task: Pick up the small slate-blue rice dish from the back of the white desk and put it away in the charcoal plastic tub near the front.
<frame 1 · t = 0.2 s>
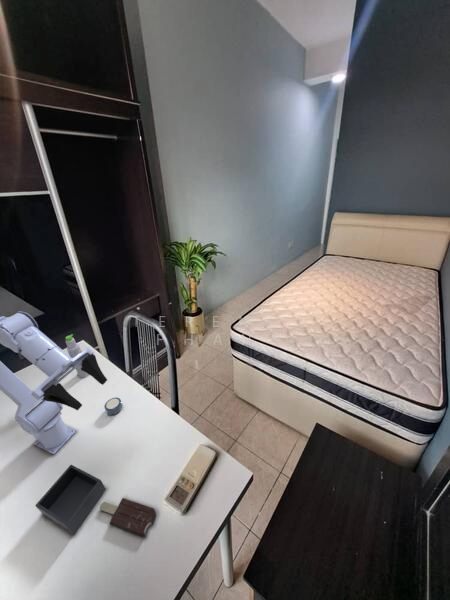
hand: (93, 394, 57), 31 cm above the table, tool tilted 45°, fingers open, 7 cm apart
bottle: (84, 374, 107), on the table
tub: (75, 501, 66), on the table
ice cream bar: (126, 515, 62), on the table
rice dish: (114, 409, 90), on the table
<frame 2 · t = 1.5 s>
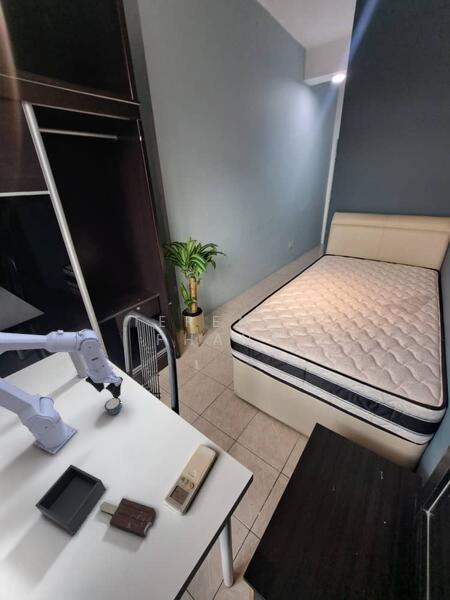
hand: (109, 393, 86), 9 cm above the table, tool pointing down, fingers open, 7 cm apart
nothing on the table moved.
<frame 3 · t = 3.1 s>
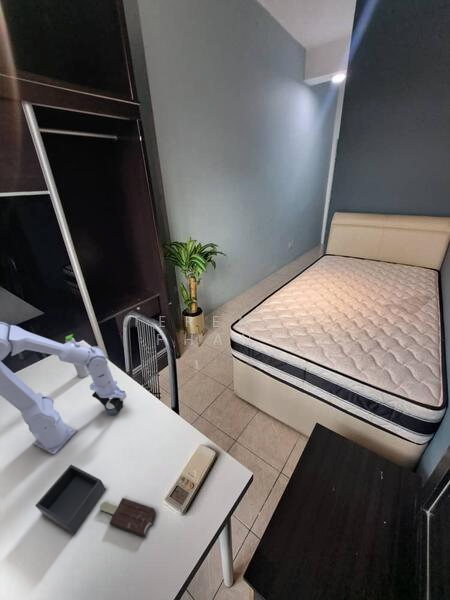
hand: (113, 406, 90), 1 cm above the table, tool pointing down, fingers closed on rice dish, 5 cm apart
rice dish: (114, 409, 90), on the table, touching gripper
everything else where it was.
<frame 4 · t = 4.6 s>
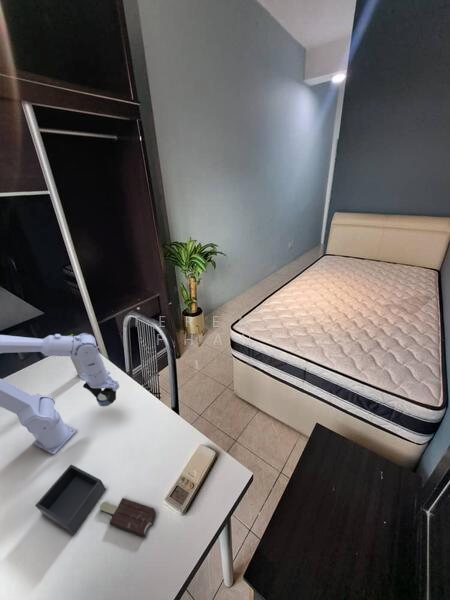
hand: (106, 398, 85), 8 cm above the table, tool pointing down, fingers closed on rice dish, 5 cm apart
rice dish: (107, 401, 85), point 7 cm above the table, touching gripper
everything else where it was.
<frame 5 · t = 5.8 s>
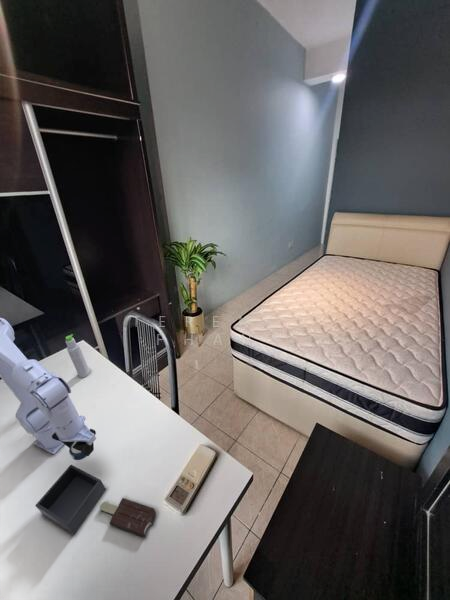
hand: (82, 448, 69), 8 cm above the table, tool pointing down, fingers closed on rice dish, 5 cm apart
rice dish: (83, 451, 70), point 7 cm above the table, touching gripper
everything else where it was.
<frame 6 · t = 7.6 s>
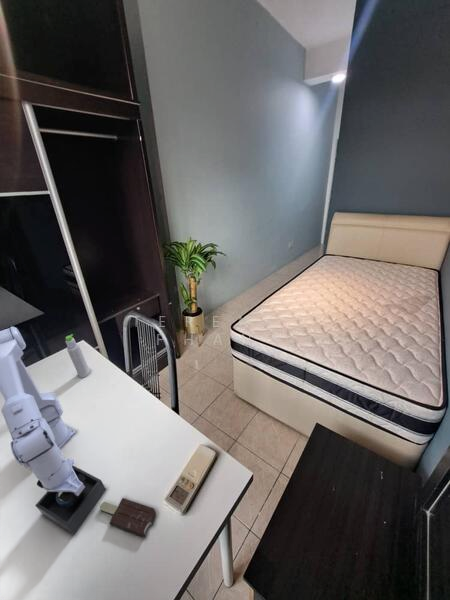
hand: (70, 494, 64), 4 cm above the table, tool pointing down, fingers closed on rice dish, 5 cm apart
rice dish: (72, 496, 64), point 3 cm above the table, touching gripper
everything else where it was.
when the fingers open (2 cm above the table, at t = 8.8 s): rice dish stays where it is, resting on tub.
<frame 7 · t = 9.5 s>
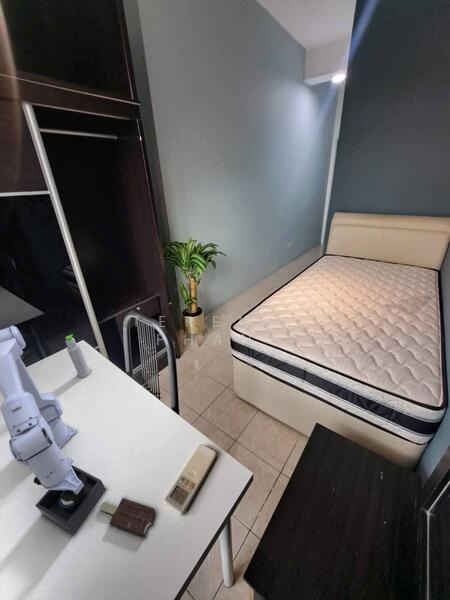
hand: (69, 492, 63), 5 cm above the table, tool pointing down, fingers open, 7 cm apart
rice dish: (75, 500, 65), resting on tub
everything else where it was.
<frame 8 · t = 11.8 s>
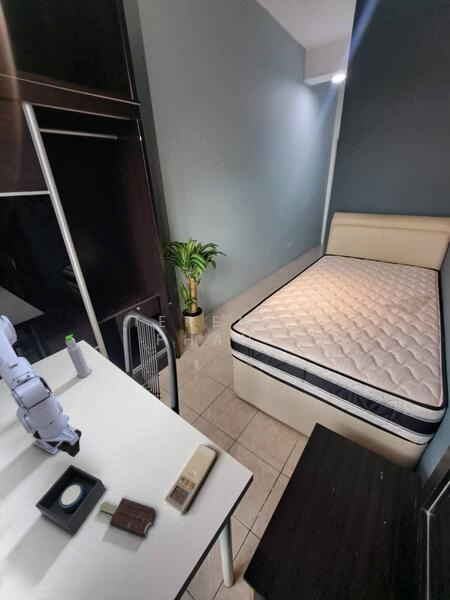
hand: (66, 448, 69), 9 cm above the table, tool pointing down, fingers open, 7 cm apart
nothing on the table moved.
at the end: rice dish inside the target area in the tub (0.1 cm from its centre), point 0.5 cm above the tub's base; rice dish tilted 0° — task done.
